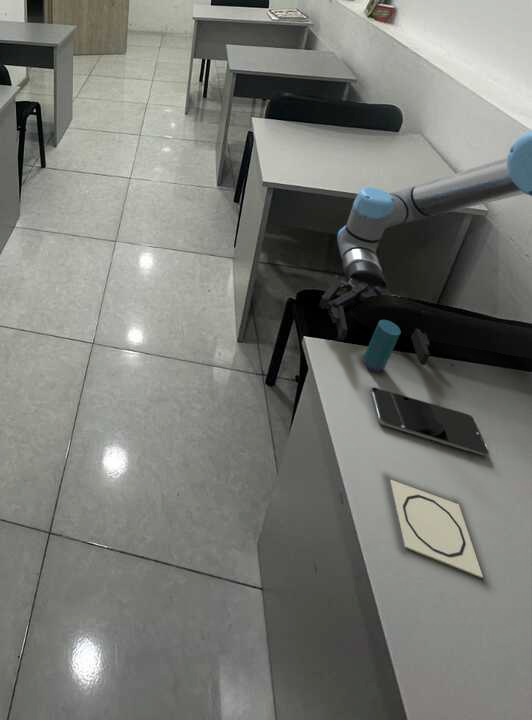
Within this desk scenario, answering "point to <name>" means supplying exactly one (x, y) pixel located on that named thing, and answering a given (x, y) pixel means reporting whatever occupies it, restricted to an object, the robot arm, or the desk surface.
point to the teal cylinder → (381, 345)
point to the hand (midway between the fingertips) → (383, 347)
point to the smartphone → (428, 421)
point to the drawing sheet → (434, 528)
